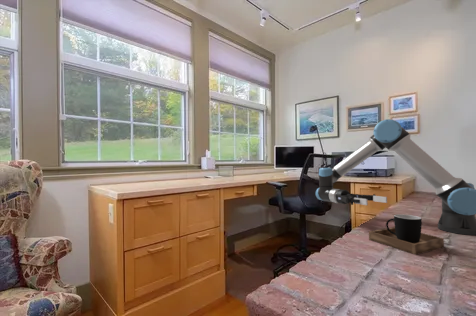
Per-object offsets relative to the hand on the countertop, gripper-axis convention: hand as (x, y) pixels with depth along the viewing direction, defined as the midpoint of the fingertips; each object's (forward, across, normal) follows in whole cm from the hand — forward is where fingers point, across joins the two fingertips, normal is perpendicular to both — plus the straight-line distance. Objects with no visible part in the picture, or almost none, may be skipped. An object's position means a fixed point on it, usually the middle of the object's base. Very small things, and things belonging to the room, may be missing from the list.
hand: (377, 201), depth 107 cm
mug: (+12, +3, -15) cm, 19 cm away
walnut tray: (+12, +2, -16) cm, 20 cm away
